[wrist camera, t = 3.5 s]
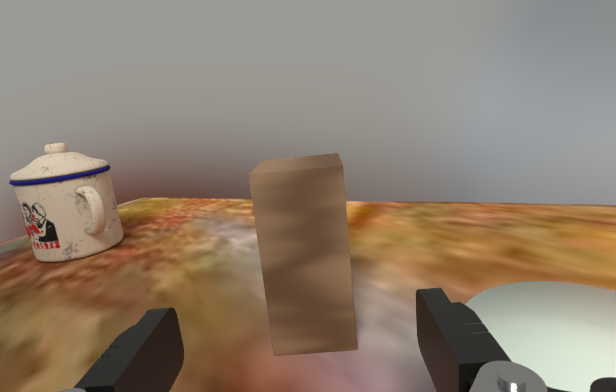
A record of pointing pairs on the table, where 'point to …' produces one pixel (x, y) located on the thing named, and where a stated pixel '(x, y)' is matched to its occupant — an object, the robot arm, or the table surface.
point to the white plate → (553, 329)
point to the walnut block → (305, 253)
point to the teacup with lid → (67, 205)
